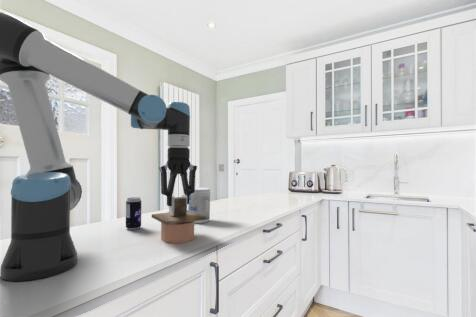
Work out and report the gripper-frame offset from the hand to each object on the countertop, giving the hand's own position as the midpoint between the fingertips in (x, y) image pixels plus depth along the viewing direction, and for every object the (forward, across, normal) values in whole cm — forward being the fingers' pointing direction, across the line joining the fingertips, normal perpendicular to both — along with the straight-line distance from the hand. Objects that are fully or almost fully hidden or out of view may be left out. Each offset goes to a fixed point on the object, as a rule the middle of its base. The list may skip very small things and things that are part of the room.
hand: (178, 214), depth 91 cm
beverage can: (+8, -9, +22) cm, 25 cm away
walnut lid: (+1, 0, 0) cm, 1 cm away
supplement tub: (+8, +18, +18) cm, 27 cm away
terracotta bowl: (+8, 0, 0) cm, 8 cm away
